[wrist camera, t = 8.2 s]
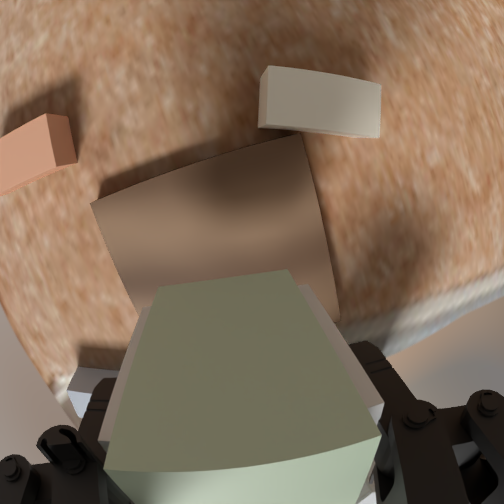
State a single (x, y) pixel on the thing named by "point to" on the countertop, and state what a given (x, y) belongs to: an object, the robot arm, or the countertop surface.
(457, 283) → the countertop surface
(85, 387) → the slate brick
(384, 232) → the countertop surface
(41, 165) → the terracotta brick
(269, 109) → the cream brick
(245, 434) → the sage brick
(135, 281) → the walnut board
